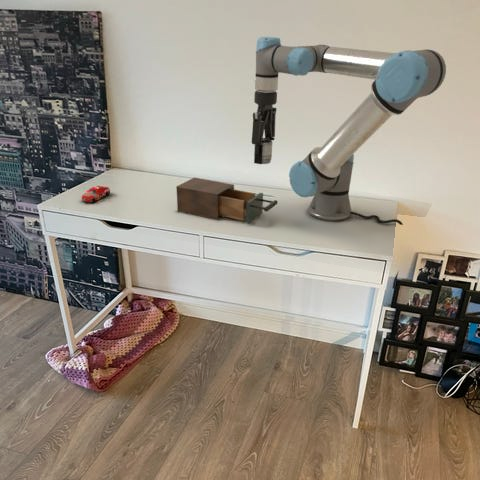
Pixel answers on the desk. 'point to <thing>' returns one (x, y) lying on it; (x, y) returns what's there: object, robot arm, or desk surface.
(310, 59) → the robot arm
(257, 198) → the drawer
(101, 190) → the race car
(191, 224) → the desk surface
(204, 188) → the cabinet
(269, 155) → the camera lens
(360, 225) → the desk surface
